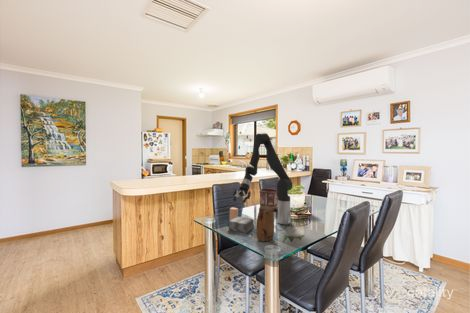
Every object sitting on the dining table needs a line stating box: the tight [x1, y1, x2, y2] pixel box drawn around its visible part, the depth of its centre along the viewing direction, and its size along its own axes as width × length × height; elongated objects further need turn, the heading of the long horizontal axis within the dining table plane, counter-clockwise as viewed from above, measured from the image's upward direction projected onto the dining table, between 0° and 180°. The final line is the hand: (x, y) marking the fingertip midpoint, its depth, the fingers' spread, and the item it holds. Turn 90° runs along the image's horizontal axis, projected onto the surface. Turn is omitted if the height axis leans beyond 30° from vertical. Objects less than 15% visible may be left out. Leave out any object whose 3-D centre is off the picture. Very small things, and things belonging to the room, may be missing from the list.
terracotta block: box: [229, 206, 239, 221], centre depth 175 cm, size 5×4×10 cm
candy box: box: [304, 194, 313, 215], centre depth 199 cm, size 14×6×16 cm, turn 84°
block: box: [255, 206, 275, 242], centre depth 141 cm, size 11×8×20 cm
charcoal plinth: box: [228, 215, 255, 234], centre depth 160 cm, size 13×13×6 cm
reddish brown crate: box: [259, 188, 278, 211], centre depth 211 cm, size 18×18×18 cm
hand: (238, 201), depth 182 cm, fingers open, 8 cm apart
